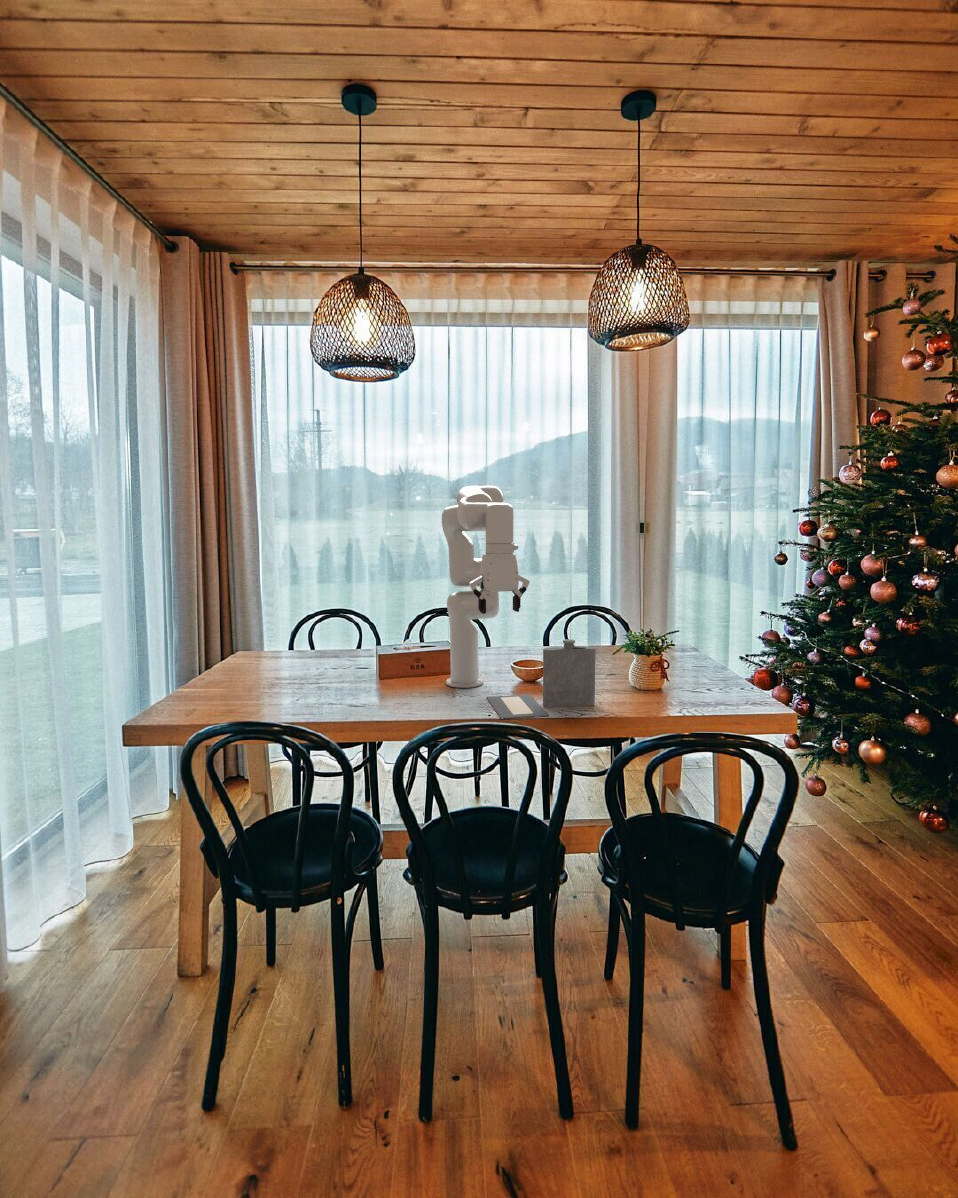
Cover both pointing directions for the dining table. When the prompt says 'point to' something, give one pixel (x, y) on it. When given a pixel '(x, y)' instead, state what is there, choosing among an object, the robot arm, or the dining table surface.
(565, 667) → the hip flask
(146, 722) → the dining table surface
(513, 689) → the dining table surface
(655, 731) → the dining table surface
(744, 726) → the dining table surface
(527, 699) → the mat
